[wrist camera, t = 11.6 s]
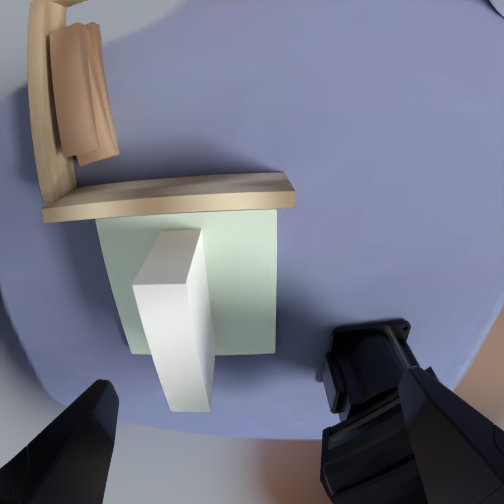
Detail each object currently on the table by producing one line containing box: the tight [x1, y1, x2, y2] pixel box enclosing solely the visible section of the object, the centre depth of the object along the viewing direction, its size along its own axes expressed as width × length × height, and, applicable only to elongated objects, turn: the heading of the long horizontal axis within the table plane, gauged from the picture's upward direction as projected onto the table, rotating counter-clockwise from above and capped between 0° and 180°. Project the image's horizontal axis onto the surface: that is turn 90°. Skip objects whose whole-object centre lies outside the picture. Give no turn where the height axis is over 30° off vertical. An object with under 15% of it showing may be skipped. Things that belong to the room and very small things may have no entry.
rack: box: [28, 0, 295, 223], centre depth 13 cm, size 14×14×4 cm
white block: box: [132, 229, 216, 412], centre depth 18 cm, size 2×9×6 cm, turn 2°
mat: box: [95, 209, 277, 355], centre depth 21 cm, size 11×11×1 cm
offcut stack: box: [50, 22, 120, 167], centre depth 14 cm, size 2×8×3 cm, turn 8°
